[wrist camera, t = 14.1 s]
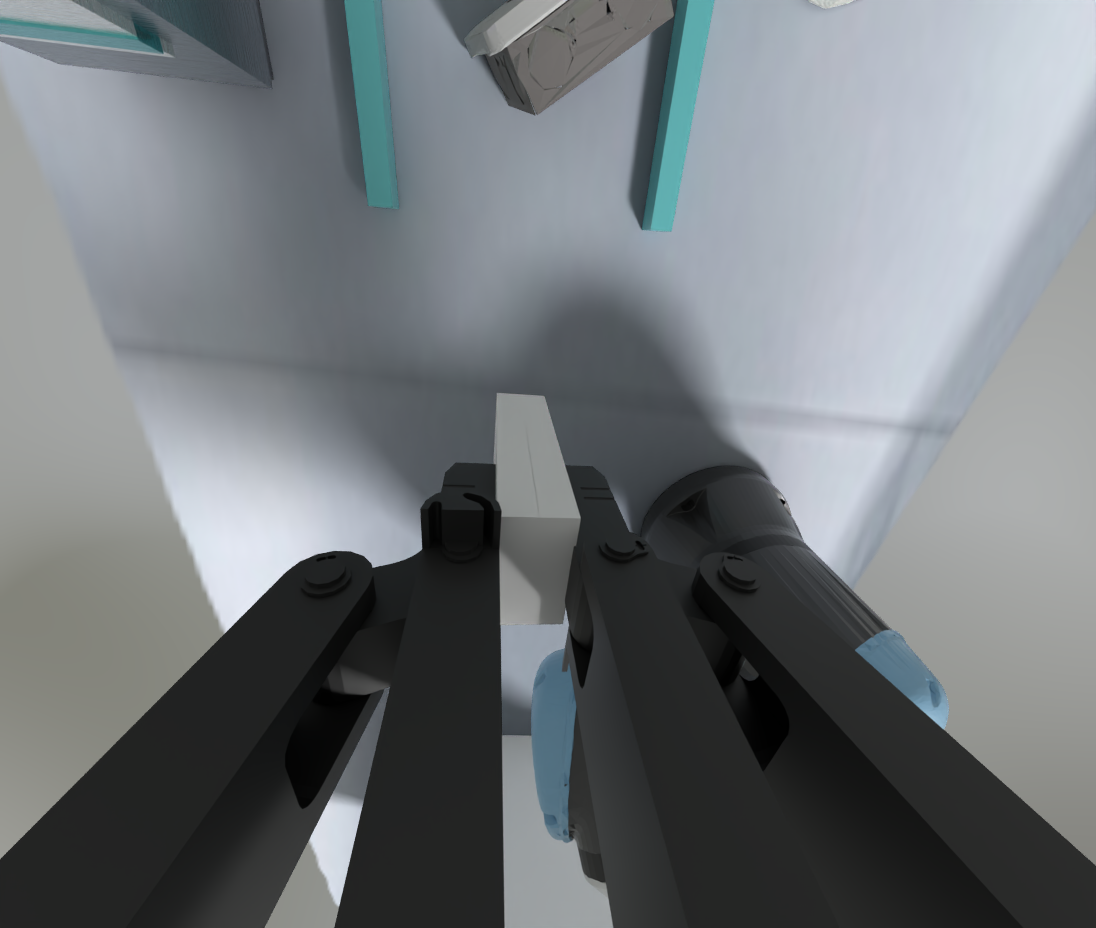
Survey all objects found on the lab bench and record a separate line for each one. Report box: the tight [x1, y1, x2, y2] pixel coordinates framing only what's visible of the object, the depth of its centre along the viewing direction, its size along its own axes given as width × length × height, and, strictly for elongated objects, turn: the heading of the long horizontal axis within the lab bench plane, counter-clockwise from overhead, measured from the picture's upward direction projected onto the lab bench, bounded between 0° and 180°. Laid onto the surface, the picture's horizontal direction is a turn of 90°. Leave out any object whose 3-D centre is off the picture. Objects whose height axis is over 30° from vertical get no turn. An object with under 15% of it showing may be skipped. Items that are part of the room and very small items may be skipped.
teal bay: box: [344, 0, 714, 232], centre depth 24 cm, size 20×20×2 cm
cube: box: [502, 735, 613, 928], centre depth 56 cm, size 25×21×24 cm
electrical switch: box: [464, 0, 674, 115], centre depth 21 cm, size 9×5×9 cm, turn 120°
